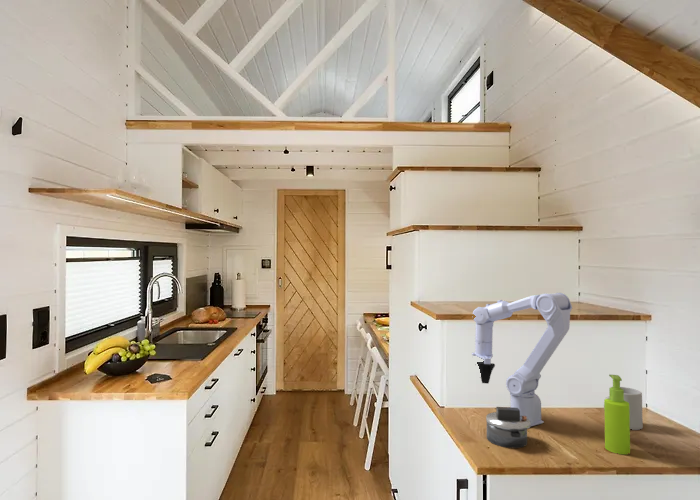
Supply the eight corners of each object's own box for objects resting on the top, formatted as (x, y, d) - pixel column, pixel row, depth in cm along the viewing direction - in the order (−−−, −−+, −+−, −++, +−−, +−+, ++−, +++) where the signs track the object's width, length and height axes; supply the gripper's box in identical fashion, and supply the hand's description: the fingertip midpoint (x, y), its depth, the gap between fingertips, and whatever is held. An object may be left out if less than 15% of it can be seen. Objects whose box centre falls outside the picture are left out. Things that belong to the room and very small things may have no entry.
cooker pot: (479, 430, 129) (479, 414, 130) (515, 430, 130) (514, 413, 130) (497, 450, 115) (497, 431, 116) (536, 450, 116) (536, 431, 116)
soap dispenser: (625, 445, 119) (624, 374, 120) (633, 455, 113) (631, 380, 114) (601, 442, 121) (600, 372, 122) (607, 452, 115) (606, 378, 116)
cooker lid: (482, 414, 129) (482, 401, 130) (523, 416, 128) (523, 403, 128) (490, 429, 118) (490, 414, 118) (536, 431, 116) (536, 417, 116)
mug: (627, 419, 140) (626, 386, 141) (649, 429, 132) (649, 393, 132) (595, 421, 138) (594, 387, 139) (615, 431, 130) (615, 395, 130)
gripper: (468, 336, 157) (468, 373, 156) (475, 344, 142) (474, 385, 142) (488, 337, 156) (487, 374, 155) (497, 345, 141) (496, 386, 141)
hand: (483, 379), depth 149 cm, fingers open, 7 cm apart
